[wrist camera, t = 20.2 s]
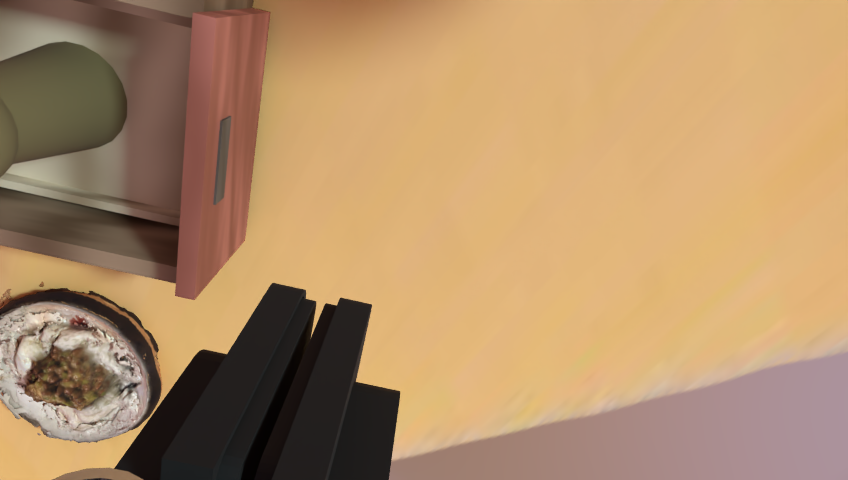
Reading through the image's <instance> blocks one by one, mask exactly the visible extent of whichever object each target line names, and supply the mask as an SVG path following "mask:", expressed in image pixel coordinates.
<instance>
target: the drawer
mask: <svg viewBox="0 0 848 480" xmlns="http://www.w3.org/2000/svg"><path fill="white" fill-rule="evenodd" d="M269 19H270V12H267V11H263V10H259V9H255V8H246V9H233V10H221V11H208V12H195V13H193V16H192V18H188V17H184V16H179V15H175V14H171V13H167V12H163V11H158V10H154V9H150V8H146V7H141V6H137V5H133V4H129V3H124V2H120V1H116V0H0V61H2V60H5V59H8V58H10V57H13V56H16V55H19V54H21V53H24V52H27V51H29V50H32V49H35V48H37V47H40V46H43V45H46V44H48V43H54V42H64V41H67V42H71V43H75V44H80V45H83V46H85V47H87V48H89V49H90V50H92V51H94V52H96V53H98V54H99V55H100V56H101V57H102V58H103V59H104V60H105V61H106V62H107V63H108V64H110V65H111V66H112V67H113V69H114V71H115V72H116V74H117V75H118V77H119V79H120V80H121V82H122V84H123V87H124V91H125V94H126V98H127V118H126V121H125V123H124V126H123V129H122V131H121V132H120V133H119V134H118V135H117V136H116V137H115V139H114V140H113V141H111V142H109V143H107V144H105V145H103V146H101V147H98V148H93V149H88V150H83V151H78V152H73V153H68V154H62V155H57V156H52V157H47V158H42V159H37V160H32V161H27V162H21V163H16V164H12V166H11V167H10V168H9V169H8V170H7V171H6V173H5V174H4V175H3V176H2V177H1V178H0V187H4V188H8V189H13V190H17V191H22V192H26V193H31V194H35V195H40V196H44V197H49V198H53V199H58V200H62V201H67V202H71V203H76V204H81V205H85V206H90V207H94V208H99V209H103V210H108V211H112V212H117V213H121V214H126V215H130V216H135V217H139V218H144V219H148V220H153V221H157V222H162V223H166V224H171V225H175V226H179V242H178V258H177V274H176V290H175V296H178V297H183V298H187V299H192V300H195V299H196V297H197V296H198V295H199V294H200V293H201V292H202V290H203V289H204V288H205V287H206V286H207V284H208V283H209V282H210V281H211V280H212V279H213V277H214V276H215V275H216V274H217V273H218V271H219V270H220V269H221V268H222V267H223V266H224V264H225V263H226V262H227V261H228V260H229V258H230V257H231V256H232V255H233V254H234V253H235V251H236V250H237V249H238V248H239V247H240V245H241V244H242V243H243V242H244V241H245V236H246V227H247V218H248V209H249V200H250V191H251V182H252V173H253V164H254V155H255V146H256V137H257V128H258V119H259V110H260V101H261V92H262V82H263V73H264V64H265V55H266V46H267V37H268V28H269Z"/></svg>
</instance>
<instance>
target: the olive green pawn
mask: <svg viewBox="0 0 848 480" xmlns="http://www.w3.org/2000/svg"><path fill="white" fill-rule="evenodd" d="M126 118H127V98H126V94H125V91H124V87H123V84H122V82H121V80H120V79H119V77H118V75H117V74H116V72H115V71H114V69H113V67H112V66H111V65H110V64H108V63H107V62H106V61H105V60H104V59H103V58H102V57H101V56H100V55H99V54H98V53H96V52H94V51H92V50H90V49H89V48H87V47H85V46H83V45H80V44H75V43H71V42H67V41H64V42H54V43H48V44H46V45H43V46H40V47H37V48H35V49H32V50H29V51H27V52H24V53H21V54H19V55H16V56H13V57H10V58H8V59H5V60H2V61H0V178H1V177H2V176H3V175H4V174H5V173H6V171H7V170H8V169H9V168H10V167H11V166H12V164H16V163H21V162H27V161H32V160H37V159H42V158H47V157H52V156H57V155H62V154H68V153H73V152H78V151H83V150H88V149H93V148H98V147H101V146H103V145H105V144H107V143H109V142H111V141H113V140H114V139H115V137H116V136H117V135H118V134H119V133H120V132H121V131H122V129H123V126H124V123H125V121H126Z"/></svg>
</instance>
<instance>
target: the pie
mask: <svg viewBox="0 0 848 480" xmlns="http://www.w3.org/2000/svg"><path fill="white" fill-rule="evenodd" d="M43 286H44V284H43V282H42V283H41V284H40V287H43ZM10 290H11V289H8V290H7V291H6V292H5V294H3V297H1V299H0V307H1V306H2V305H3V303H4V302H3V298H4V297H5V296H6V297H7V299H10V298H11V297H10ZM89 292H90V294H87V293H84V292H82V293H79V292H76V291H74V292H72V291H70V290H68V289H67V288H61V289H50V290H47V291H45V292H38V293H36V294H33V295H27V296H25V297H23V298H20V299H17V300H12V301H10V302H9V303H8V304H7V305H5V306H4V307H3V308H1V309H0V399H1V400H2V401H3V403H4V404H5V405H6V406H7V408H8V409H9V410H10V411H11V412H12V413H13V415H14V416H15V418H17V419H20V417H19V416H18V415H20V416H21V417H22V418H24V419H25V420H27V421H28V422H30V423H32V425H34V427H38V426H39V425H40V426H41V430H42V431H43V434H44V435H46V436H47V437H50V438H59V439H63V440H70V441H72V440H74V441H76V442H78V443H81V442H89V443H90V442H98V441H100V440H104V439H109V438H112V437H115V436H118V435H120V434H123V433H126V432H128V431H129V430H133V429H135V428H137V427H139V426H140V425H141V424H142V423H143V422H144V421H145V420H146V419H147V418H148V417H149V416H150V415H151V413H152V411H153V410H154V408H155V406H156V405H157V403H158V401H159V399H160V396H161V390H162V381H161V374H160V368H159V366H160V365H159V362H158V361H157V359H158V358H157V352H158V350H159V349H158V345H157V343H156V341H155V339H154V338H153V336H152V334H151V333H150V332H149V331H147V330H145V329H144V328H143V326H142V324H141V321H140V320H139V318H138V317H137V316H136V315H135V314H134V313H132V312H129V311H127V310H126V309H125V308H122V307H119V306H118V305H117V304H116V303H114V302H113V301H111V300H109V299H107V298H106V297H104V296H102V295H99V294H97V293H94V292H93V291H89ZM155 357H156V359H155ZM1 392H2V393H3V396H4V397H3V396H2V395H1ZM37 434H38V435H41V434H39V433H37Z"/></svg>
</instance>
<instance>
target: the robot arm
mask: <svg viewBox="0 0 848 480" xmlns="http://www.w3.org/2000/svg"><path fill="white" fill-rule="evenodd" d="M371 308H372V305H371V304H367V303H362V302H358V301H353V300H349V299H344V298H340V299H339V302H338V304H337V306H336V305H331V304H327V303H326V304H325V306H324V308H323V310H322V313H321V315H320V318H319V320H318V322H317V325H316V327H315V330H314V332H313V334H312V337H311V333H312V327H313V321H314V315H315V309H316V301H313V300H308V299H306V290H303V289H298V288H294V287H289V286H285V285H280V284H276V283H272V284H271V285H270V287H269V289H268V290H267V292H266V293H265V295H264V296H263V298H262V300H261V301H260V303H259V304H258V306H257V308H256V309H255V311H254V312H253V314H252V316H251V317H250V319H249V320H248V322H247V323H246V325H245V327H244V328H243V330H242V331H241V333H240V335H239V336H238V338H237V339H236V341H235V343H234V344H233V346H232V347H231V349H230V351H229V352H228V354H223V353H218V352H213V351H209V350H204V349H203V350H201V351H199V352H198V353H197V354H196V355H195V356H194V358H193V359H192V361H191V362H190V363H189V365H188V366H187V368H186V369H185V370H184V372H183V373H182V375H181V376H180V377H179V379H178V380H177V382H176V383H175V384H174V386H173V387H172V389H171V390H170V391H169V393H168V394H167V396H166V397H165V398H164V400H163V401H162V403H161V404H160V405H159V407H158V408H157V410H156V411H155V412H154V414H153V415H152V417H151V418H150V419H149V421H148V422H147V424H146V425H145V426H144V428H143V429H142V431H141V432H140V433H139V435H138V436H137V438H136V439H135V440H134V442H133V443H132V445H131V446H130V447H129V449H128V450H127V452H126V453H125V454H124V456H123V457H122V458H121V460H120V461H119V463H118V464H117V465H116V467H115V468H114V469H112V468H91V469H84V470H80V471H76V472H71V473H67V474H64V475H62V476H59V477H57V478H55V479H53V480H389V473H390V466H391V458H392V451H393V444H394V436H395V429H396V422H397V414H398V407H399V399H400V391H396V390H391V389H387V388H382V387H377V386H373V385H368V384H363V383H359V382H356V378H357V373H358V369H359V364H360V359H361V355H362V350H363V345H364V341H365V336H366V331H367V327H368V322H369V317H370V313H371Z"/></svg>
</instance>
